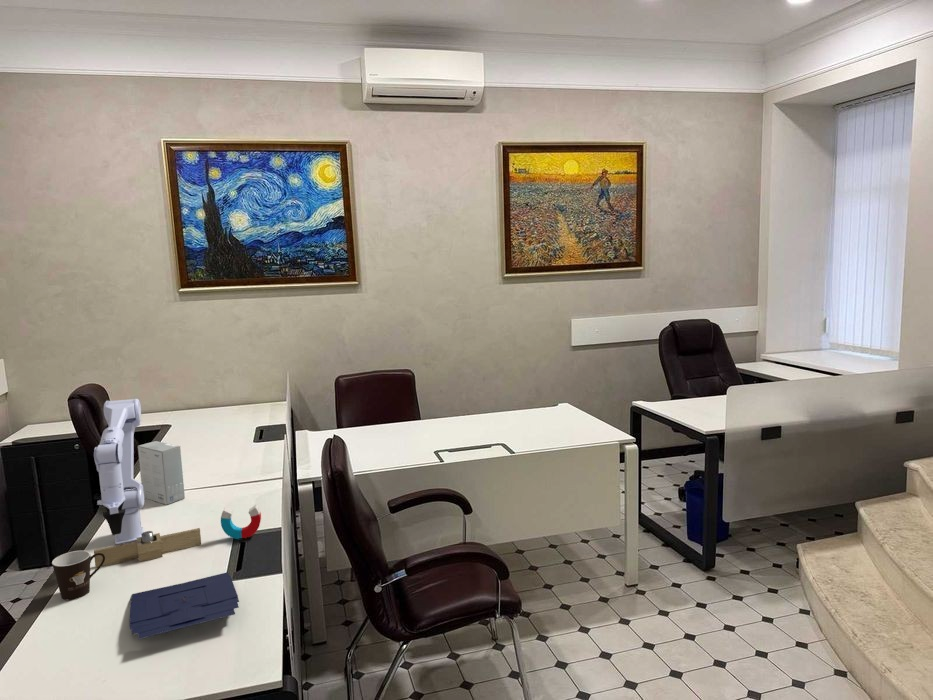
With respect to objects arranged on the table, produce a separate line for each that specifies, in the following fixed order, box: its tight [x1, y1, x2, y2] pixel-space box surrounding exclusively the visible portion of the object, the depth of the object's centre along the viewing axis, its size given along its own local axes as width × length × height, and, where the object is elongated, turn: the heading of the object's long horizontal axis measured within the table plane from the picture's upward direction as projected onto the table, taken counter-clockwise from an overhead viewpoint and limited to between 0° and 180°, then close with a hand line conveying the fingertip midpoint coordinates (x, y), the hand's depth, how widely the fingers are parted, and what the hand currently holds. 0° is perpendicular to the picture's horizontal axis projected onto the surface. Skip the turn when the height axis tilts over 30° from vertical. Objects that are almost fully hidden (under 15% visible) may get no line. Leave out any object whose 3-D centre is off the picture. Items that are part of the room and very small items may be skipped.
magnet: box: [220, 504, 262, 540], centre depth 199 cm, size 12×3×10 cm, turn 102°
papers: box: [129, 571, 240, 640], centre depth 159 cm, size 24×30×4 cm
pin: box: [141, 530, 154, 543], centre depth 188 cm, size 3×3×7 cm
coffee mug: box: [51, 550, 105, 601], centre depth 168 cm, size 12×9×10 cm
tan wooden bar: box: [93, 527, 202, 569], centre depth 189 cm, size 6×28×5 cm, turn 119°
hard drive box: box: [137, 440, 186, 505], centre depth 232 cm, size 16×8×20 cm, turn 58°
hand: (116, 528), depth 185 cm, fingers open, 7 cm apart
